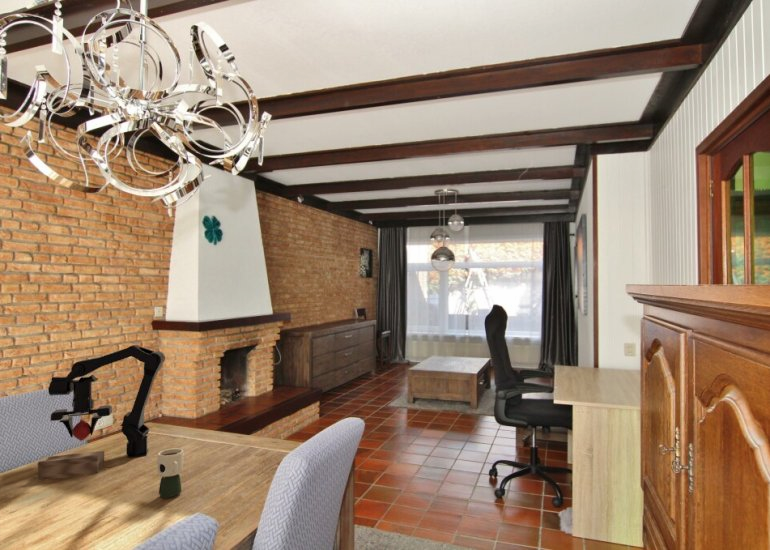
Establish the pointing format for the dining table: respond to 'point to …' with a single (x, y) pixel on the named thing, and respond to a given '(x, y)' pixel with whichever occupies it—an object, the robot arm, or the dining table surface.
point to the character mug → (170, 472)
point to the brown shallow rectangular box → (70, 465)
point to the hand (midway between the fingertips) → (81, 436)
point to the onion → (81, 430)
